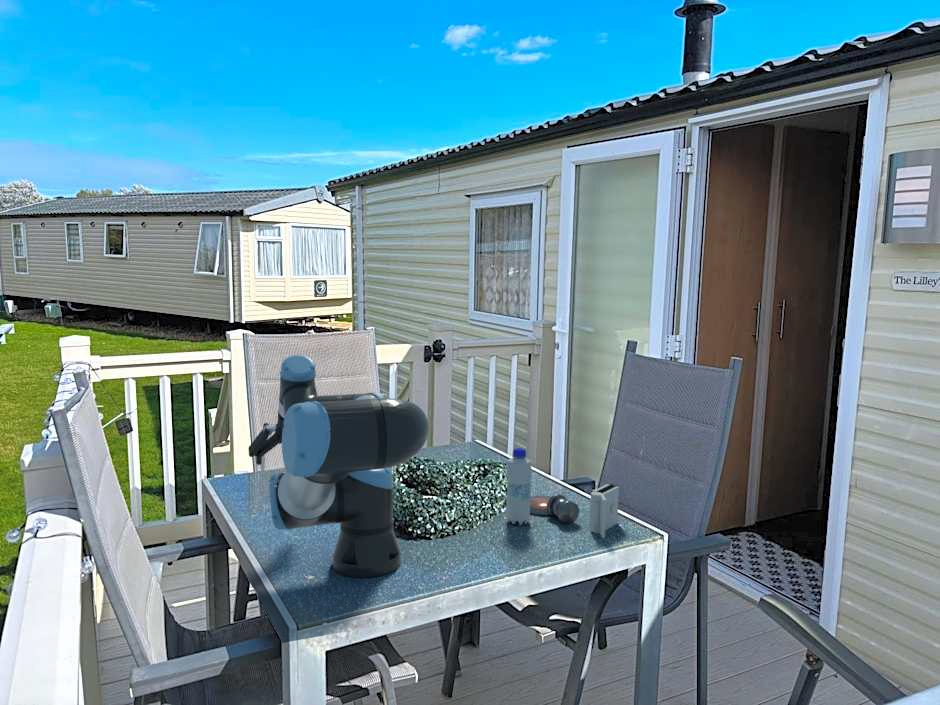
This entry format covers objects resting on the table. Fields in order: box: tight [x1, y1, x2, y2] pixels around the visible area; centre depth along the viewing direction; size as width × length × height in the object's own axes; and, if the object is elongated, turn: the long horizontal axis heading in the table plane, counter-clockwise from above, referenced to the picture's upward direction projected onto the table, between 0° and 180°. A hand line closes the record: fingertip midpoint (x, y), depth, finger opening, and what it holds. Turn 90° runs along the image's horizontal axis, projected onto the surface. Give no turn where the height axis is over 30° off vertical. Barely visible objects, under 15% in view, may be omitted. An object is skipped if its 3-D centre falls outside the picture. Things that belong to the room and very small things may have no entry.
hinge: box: [589, 483, 620, 539], centre depth 174 cm, size 14×5×10 cm, turn 153°
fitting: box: [530, 493, 580, 525], centre depth 187 cm, size 21×14×6 cm
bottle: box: [505, 447, 533, 526], centre depth 178 cm, size 7×7×20 cm
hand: (290, 468), depth 172 cm, fingers open, 13 cm apart
